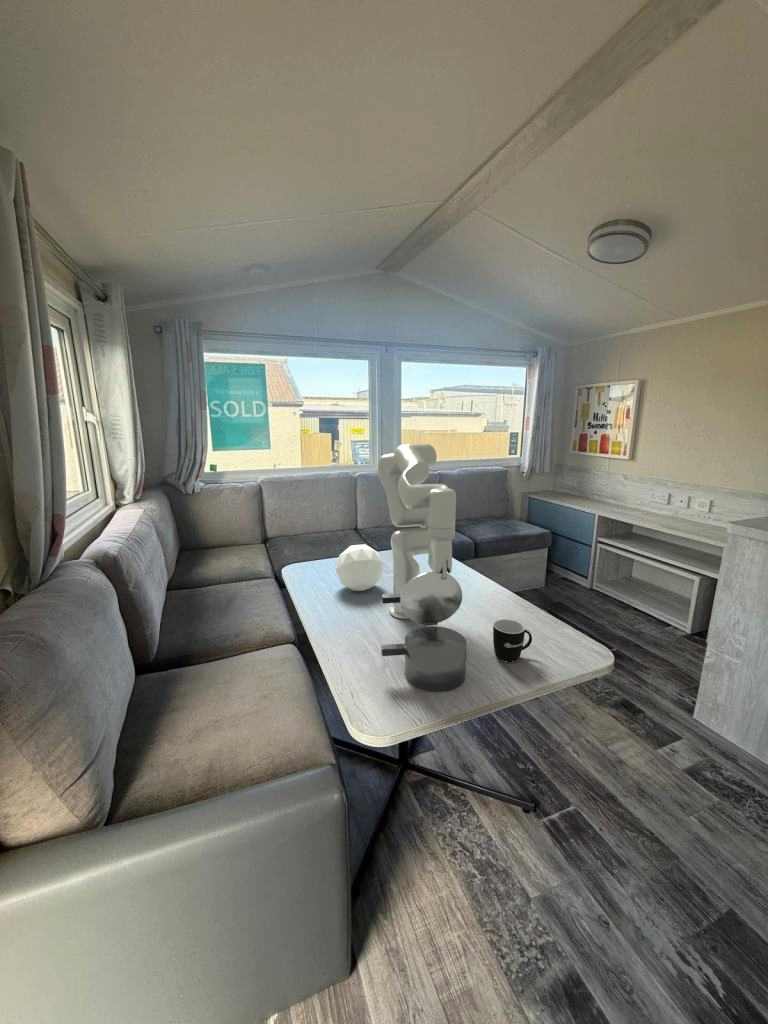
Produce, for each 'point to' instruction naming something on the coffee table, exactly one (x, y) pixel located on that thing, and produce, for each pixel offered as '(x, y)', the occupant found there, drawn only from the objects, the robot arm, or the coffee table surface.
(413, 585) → the lid
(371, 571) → the geometric polyhedron
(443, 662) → the pot
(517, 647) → the mug
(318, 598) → the coffee table surface
